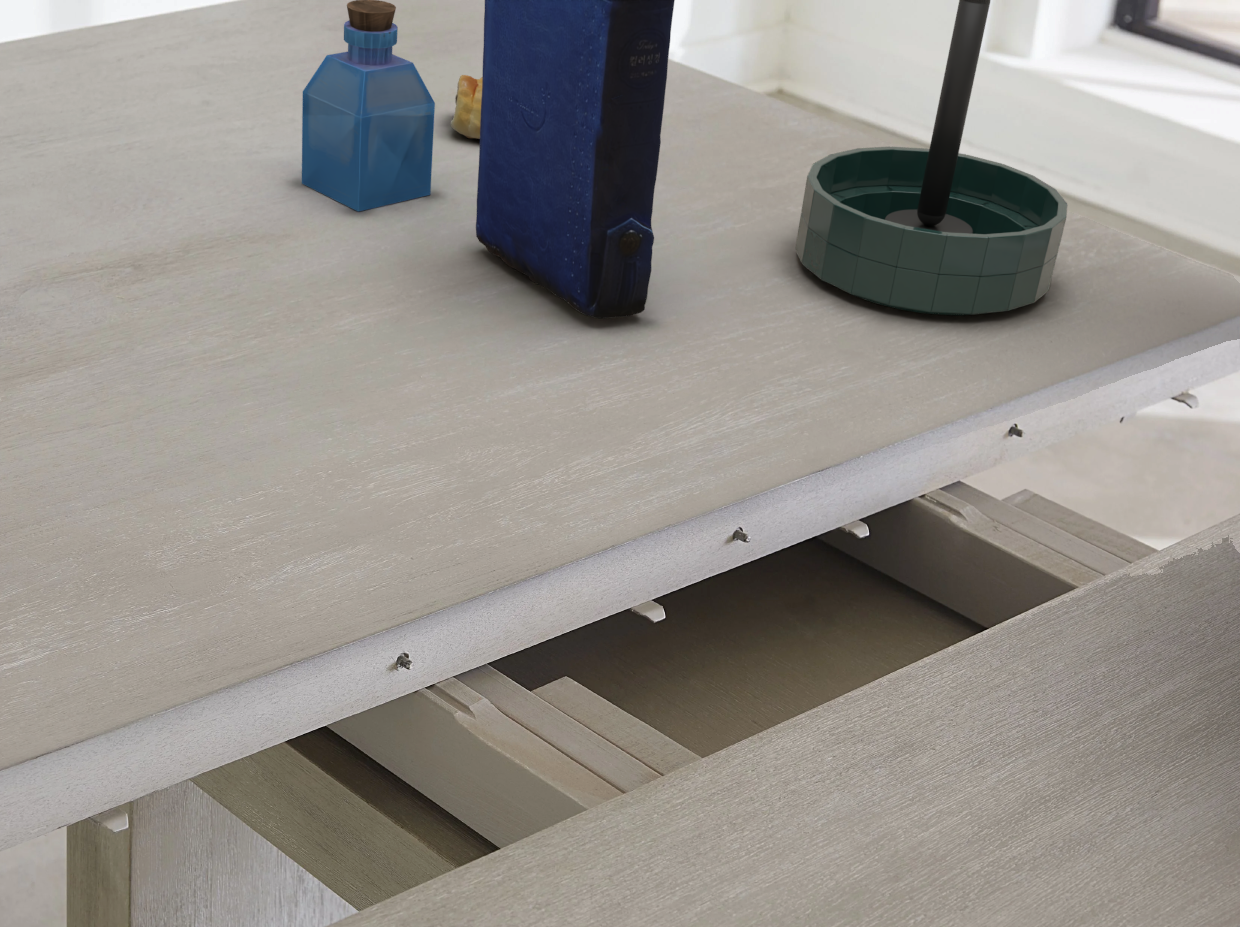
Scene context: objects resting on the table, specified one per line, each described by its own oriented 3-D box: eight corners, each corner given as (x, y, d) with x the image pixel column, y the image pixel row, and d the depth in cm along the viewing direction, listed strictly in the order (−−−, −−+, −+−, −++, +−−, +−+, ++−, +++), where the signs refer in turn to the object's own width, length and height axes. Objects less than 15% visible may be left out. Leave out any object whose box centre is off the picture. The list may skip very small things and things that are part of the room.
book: (659, 320, 113) (702, -28, 102) (585, 334, 111) (621, -21, 100) (530, 237, 123) (556, -90, 112) (460, 249, 121) (479, -84, 109)
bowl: (1009, 233, 130) (1028, 153, 127) (1078, 329, 117) (1100, 243, 114) (776, 220, 129) (789, 140, 126) (819, 316, 116) (834, 229, 113)
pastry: (575, 122, 143) (579, 71, 141) (578, 152, 138) (583, 99, 136) (451, 113, 143) (453, 62, 141) (449, 143, 138) (452, 90, 135)
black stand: (953, 249, 125) (1011, -26, 115) (973, 282, 120) (1037, -1, 110) (869, 245, 125) (921, -31, 115) (887, 278, 120) (943, -7, 110)
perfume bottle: (301, 183, 129) (303, 0, 122) (373, 167, 132) (379, -12, 125) (358, 211, 125) (363, 24, 118) (430, 194, 128) (439, 12, 122)
